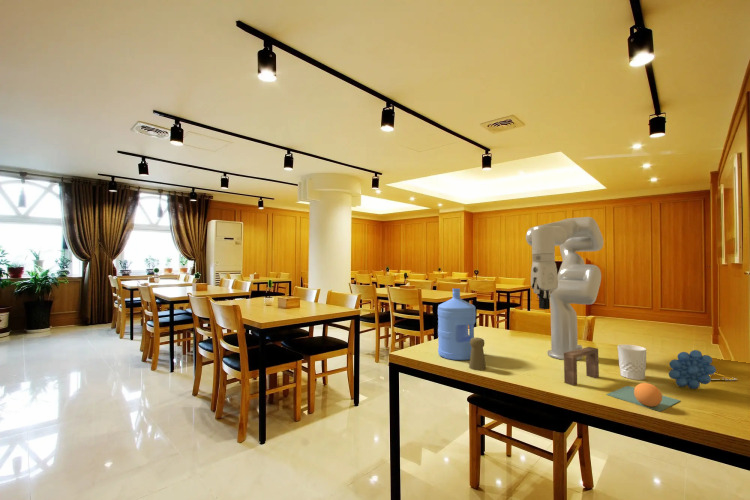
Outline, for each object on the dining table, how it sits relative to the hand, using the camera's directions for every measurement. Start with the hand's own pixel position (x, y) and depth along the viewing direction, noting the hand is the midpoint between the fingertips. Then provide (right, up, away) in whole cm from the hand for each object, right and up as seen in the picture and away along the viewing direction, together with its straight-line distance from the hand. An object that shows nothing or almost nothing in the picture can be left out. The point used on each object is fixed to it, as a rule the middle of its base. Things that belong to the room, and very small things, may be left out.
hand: (544, 308), depth 125 cm
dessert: (+51, -22, -8) cm, 56 cm away
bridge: (+7, -22, -12) cm, 26 cm away
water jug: (-28, -23, +18) cm, 40 cm away
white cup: (+26, -22, -9) cm, 35 cm away
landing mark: (+15, -21, -27) cm, 37 cm away
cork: (-24, -23, +1) cm, 33 cm away
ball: (+13, -18, -32) cm, 39 cm away
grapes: (+36, -22, -19) cm, 46 cm away
